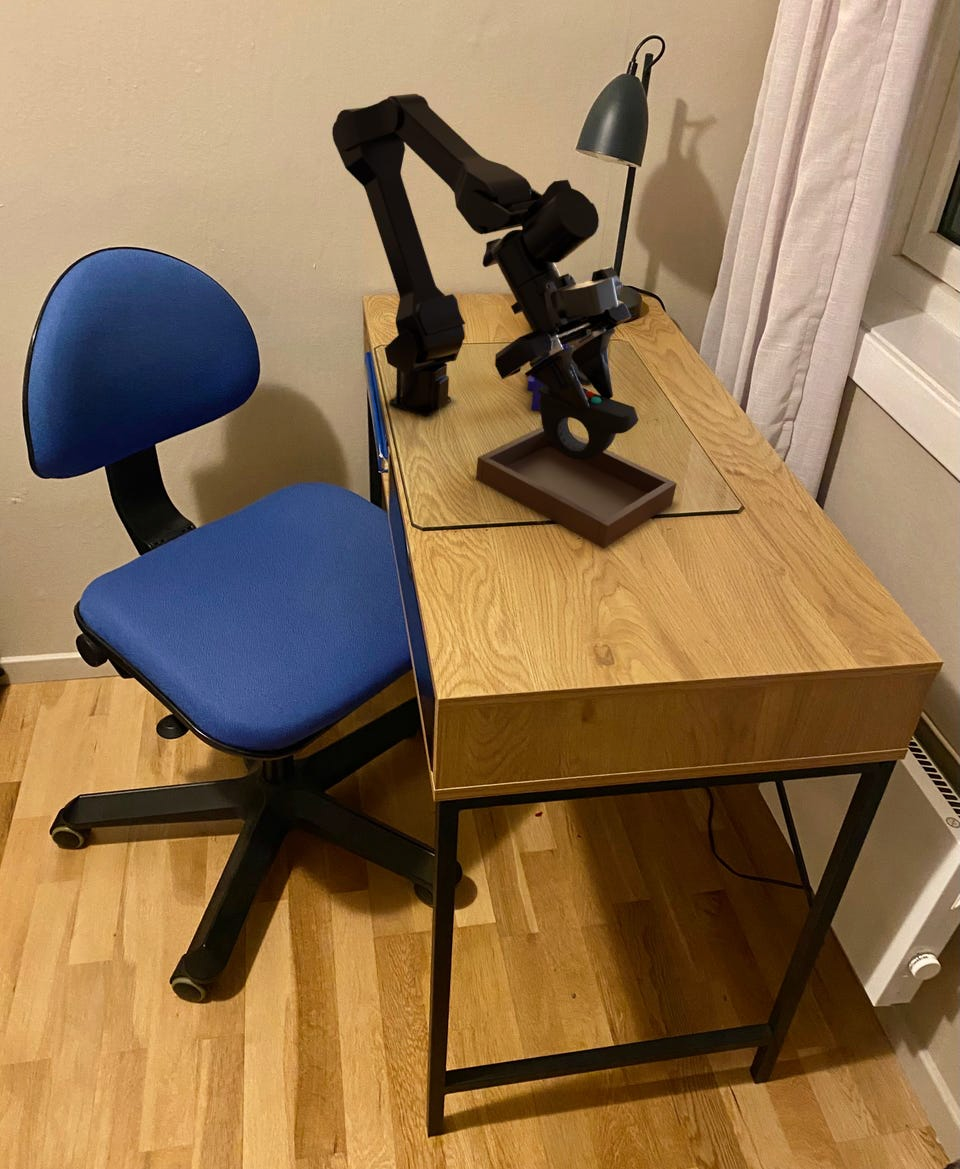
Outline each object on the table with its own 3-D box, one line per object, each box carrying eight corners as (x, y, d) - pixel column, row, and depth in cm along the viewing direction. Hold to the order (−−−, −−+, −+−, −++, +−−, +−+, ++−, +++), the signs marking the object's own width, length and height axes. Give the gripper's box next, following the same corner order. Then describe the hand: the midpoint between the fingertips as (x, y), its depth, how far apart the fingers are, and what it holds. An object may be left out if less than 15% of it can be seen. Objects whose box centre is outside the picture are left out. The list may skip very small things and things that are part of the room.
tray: (475, 479, 119) (477, 457, 117) (547, 443, 127) (549, 422, 125) (603, 548, 109) (607, 526, 107) (672, 504, 117) (677, 482, 115)
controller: (547, 434, 120) (553, 360, 113) (635, 466, 114) (646, 389, 108) (529, 448, 117) (534, 372, 111) (618, 481, 111) (628, 403, 105)
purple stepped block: (533, 373, 144) (537, 335, 141) (563, 377, 144) (568, 340, 140) (520, 408, 135) (524, 368, 131) (552, 413, 134) (557, 373, 131)
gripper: (525, 263, 97) (596, 401, 98) (631, 229, 108) (693, 353, 109) (464, 314, 106) (529, 439, 107) (568, 277, 117) (626, 391, 118)
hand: (597, 404), depth 110 cm, fingers closed on controller, 4 cm apart
